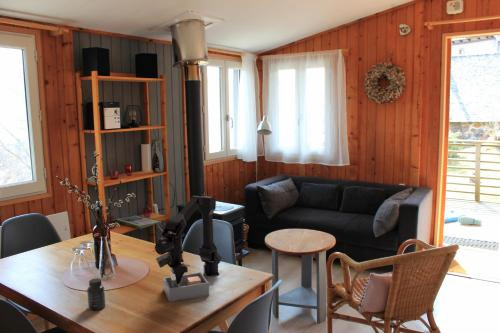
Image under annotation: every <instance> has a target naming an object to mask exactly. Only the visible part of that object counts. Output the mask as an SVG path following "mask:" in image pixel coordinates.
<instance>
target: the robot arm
mask: <svg viewBox="0 0 500 333" xmlns="http://www.w3.org/2000/svg"><path fill="white" fill-rule="evenodd" d="M216 207H217V201H216V198H215V197H213V196H207V195H200V196H199V195H192V196H191V197H190V199H189V201H188V202H187V203H185V205H184V207H183V208H182V209H181V210H180V211H179V213H177V214H176V215H174V216H172V217H170V218H169V219H168V220H167V221H166V223H165V226H164V227H163V230H162V232H161V237H159V238H158V241H157V242H156V243H155V245H154V250H155V252H156V253H157V254H158V255H159V256H158V257H156V258H155V260H156V262H157V264H158V267H159V268H163V267H164V266H168V267H169V268H171V269H172V270H171V269H170V272H171V271H172V273H173V274H175V278H176V282H177V284H180V281H181V279H182V277H183V275H185V273H188V272H189V269H188V268H189V267H188V266H187V265H186V264H185V263H184V262H185V261H184V258H183V254H184V250H183V237H185V233H184V230H185V229H186V227H187V222H188V221H189V219H190V218H191V216H193V214H194V213H195V212H196V211H197V209H198V210H199V212H200V214H201V215H202V216H201V220H202V244H201V246H200V247H199V250H198V251H199V253H198V254H199V258H200V260H201V262H202V263H204V264H203V275H205V276H206V277H213V276H219V275H220V273H219V264H220V263H221V261H222V257H221V255H220V254H219V253H218V248H217V246H216V245H215V242H214V226H213V225H214V224H213V223H214V222H213V214H214V212H215V210H216Z"/></svg>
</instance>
